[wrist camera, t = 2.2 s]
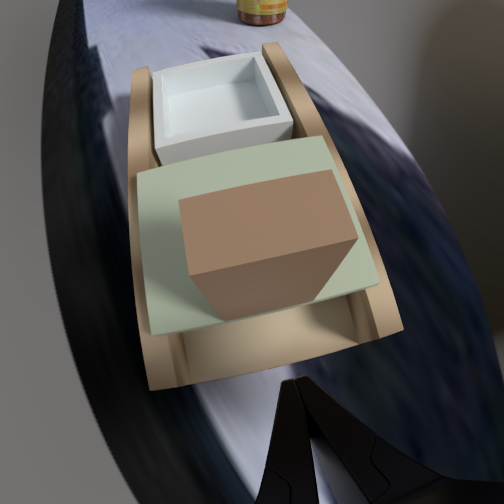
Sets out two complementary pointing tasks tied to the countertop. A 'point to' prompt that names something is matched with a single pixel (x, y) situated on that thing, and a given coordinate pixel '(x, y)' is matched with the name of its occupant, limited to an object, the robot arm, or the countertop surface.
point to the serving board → (266, 326)
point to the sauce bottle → (261, 11)
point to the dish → (217, 107)
